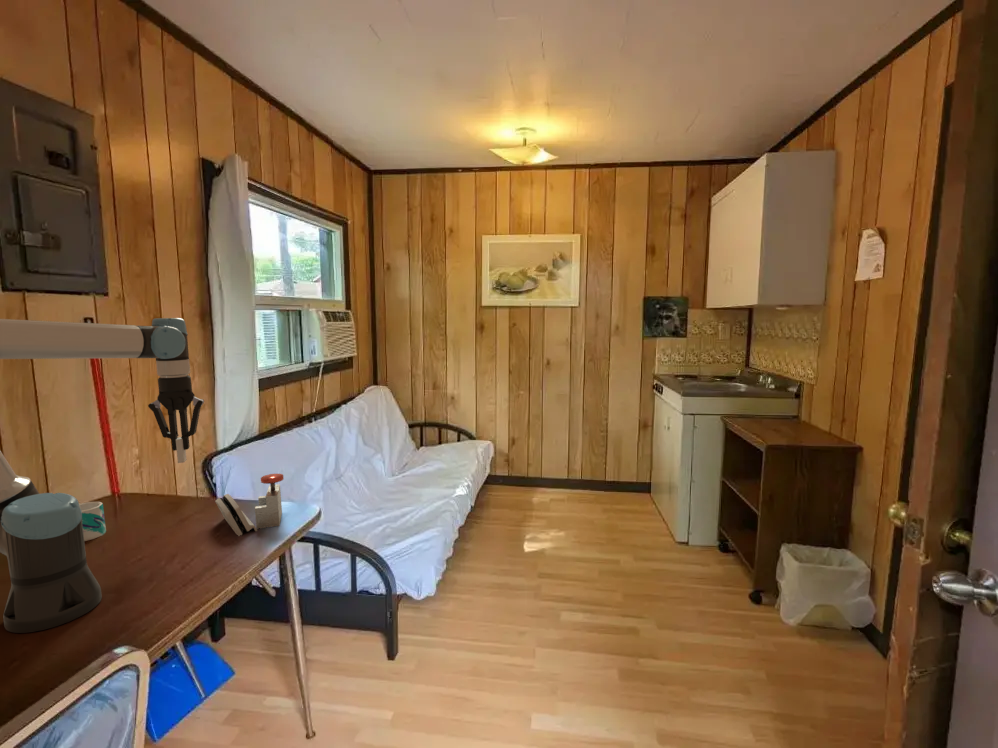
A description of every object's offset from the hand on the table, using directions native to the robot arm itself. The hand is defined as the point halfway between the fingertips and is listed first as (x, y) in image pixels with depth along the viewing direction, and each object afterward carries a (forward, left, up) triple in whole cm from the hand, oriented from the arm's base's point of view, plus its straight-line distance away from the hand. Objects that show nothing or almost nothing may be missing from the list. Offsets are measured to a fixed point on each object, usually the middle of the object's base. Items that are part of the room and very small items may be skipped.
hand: (182, 461), depth 140 cm
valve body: (0, -21, -20) cm, 29 cm away
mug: (+10, +27, -21) cm, 35 cm away
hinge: (0, -12, -21) cm, 24 cm away
